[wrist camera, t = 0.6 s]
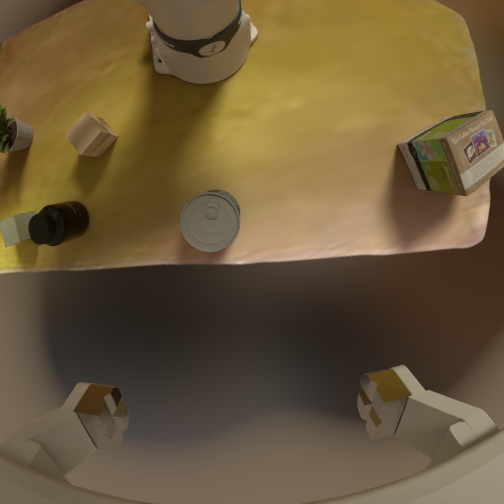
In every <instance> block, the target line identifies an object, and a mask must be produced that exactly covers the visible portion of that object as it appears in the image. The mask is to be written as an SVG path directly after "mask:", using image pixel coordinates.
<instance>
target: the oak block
mask: <svg viewBox="0 0 504 504" xmlns="http://www.w3.org/2000/svg"><path fill="white" fill-rule="evenodd" d="M65 136H66V137H67V139H68V140H69V141H70V142H71V144H72V145H73V146H74V147H75V149H76V150H77V151H78V152H79V154H80V155H84V156H93V157H100V156H101V155H102V154H103V153H104V152H105V151H106V149H107V148H108V147H109V146H110V145H111V144H112V143H113V142H114V141H115V139H116V138H117V137H118V136H117V134H116V133H115V132H114V131H113V130H112V129H111V128H110V126H109V125H108V124H107V123H106V122H105V121H104V120H103V119H102V118H99V117H96V116H94V115H91V114H89V113H86V112H84V113H83V115H82V116H81V117H80V118H79V119H78V120H77V122H76V123H75V124H74V125H73V126H72V128H71V129H70V130H69V131H68V133H67V134H66V135H65Z"/></svg>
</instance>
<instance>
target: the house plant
mask: <svg viewBox="0 0 504 504" xmlns="http://www.w3.org/2000/svg"><path fill="white" fill-rule="evenodd" d="M2 104H3V103H2ZM2 104H0V152H2V153H6V154H7V155H8V152H12V151H17V150H22V149H25V148H27V147H28V146H29V145H30V144H31V142H32V139H33V129H32V127H31V126H30V125H28V124H26V123H24V122H22V121H20V120H18V119H16V118H13V117H8V118H7V119H6V106H5V107H4V108H3V110H2ZM8 156H9V155H8Z"/></svg>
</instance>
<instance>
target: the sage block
mask: <svg viewBox="0 0 504 504" xmlns="http://www.w3.org/2000/svg"><path fill="white" fill-rule="evenodd" d="M34 215H36V213H35V211H31V212H26V213H22V214H18V215H14V216H12V217H10V218H8V219H6V220H4V221H2V222H0V227H1V232H2V236H3V240H4V244H5V248H6V247H8V246H11V245H13V244H16V243H19V242H21V241H24V240H27V239H29V238H30V235H29V230H28V225H29V221H30V219H31V218H32V216H34Z"/></svg>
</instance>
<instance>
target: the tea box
mask: <svg viewBox="0 0 504 504" xmlns="http://www.w3.org/2000/svg"><path fill="white" fill-rule="evenodd" d="M398 146H399V148H400V150H401V152H402V154H403V157H404V159H405V161H406V163H407V166H408V168H409V170H410V172H411V175H412V177H413V179H414V182H415V184H416V186H417V189H420V190H427V191H434V192H442V193H448V194H455V195H461V196H468V195H469V194H471V193H472V192H474V191H475V190H476V189H478V188H479V187H480V186H481V185H482V184H484V183H485V182H486V181H487V180H488V179H490V178H491V177H492V176H493V175H494V174H496V173H497V172H498V171H499V170H500V169H502V168H503V167H504V141H503V138H502V135H501V132H500V129H499V126H498V124H497V121H496V118H495V116H494V113H493V111H492V110H488V111H480V112H475V113H469V114H463V115H458V116H452V117H448V118H444V119H442V120H441V121H439V122H437V123H435V124H433V125H431V126H429V127H427V128H426V129H424V130H422V131H420V132H418V133H416V134H414V135H413V136H411V137H409V138H407V139H405V140H403V141H402V142H400V143H398Z"/></svg>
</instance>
